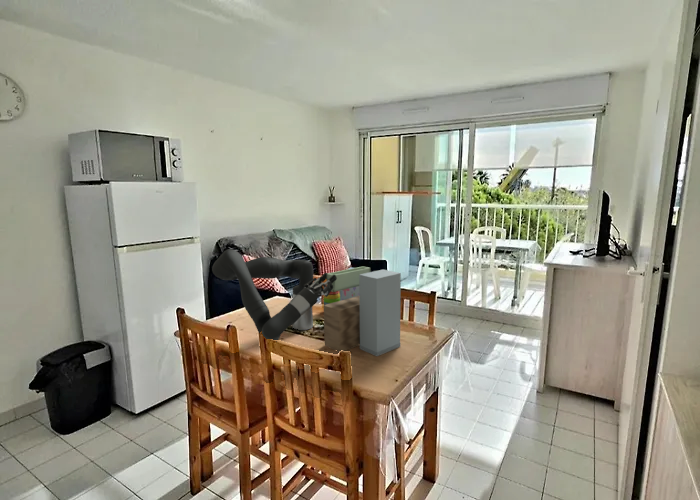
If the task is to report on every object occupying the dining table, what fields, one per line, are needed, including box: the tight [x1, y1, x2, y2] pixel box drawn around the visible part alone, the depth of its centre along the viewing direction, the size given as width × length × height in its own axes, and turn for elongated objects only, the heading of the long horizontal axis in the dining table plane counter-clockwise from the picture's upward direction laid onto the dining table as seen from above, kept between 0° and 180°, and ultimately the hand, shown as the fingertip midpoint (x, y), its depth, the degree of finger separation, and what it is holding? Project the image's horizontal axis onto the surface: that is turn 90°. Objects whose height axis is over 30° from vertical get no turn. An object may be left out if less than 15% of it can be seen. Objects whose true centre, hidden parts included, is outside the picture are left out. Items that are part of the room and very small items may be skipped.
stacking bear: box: [323, 284, 340, 306], centre depth 208 cm, size 11×10×18 cm
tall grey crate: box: [359, 269, 402, 357], centre depth 160 cm, size 14×10×32 cm
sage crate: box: [326, 266, 372, 292], centre depth 165 cm, size 22×4×7 cm, turn 134°
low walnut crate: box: [323, 296, 360, 353], centre depth 168 cm, size 23×10×18 cm, turn 131°
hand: (331, 275), depth 158 cm, fingers closed on sage crate, 4 cm apart
